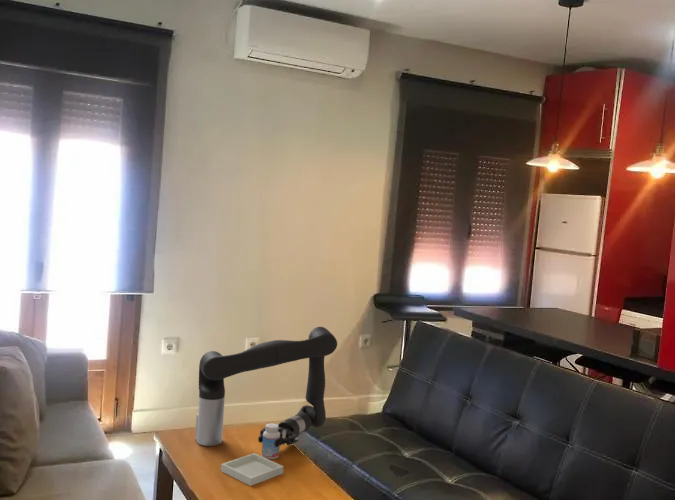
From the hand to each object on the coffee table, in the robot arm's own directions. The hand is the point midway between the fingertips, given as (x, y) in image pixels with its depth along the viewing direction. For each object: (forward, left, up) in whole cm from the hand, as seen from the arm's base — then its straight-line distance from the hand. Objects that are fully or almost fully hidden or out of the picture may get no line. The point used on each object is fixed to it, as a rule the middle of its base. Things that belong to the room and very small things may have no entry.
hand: (267, 441), depth 244 cm
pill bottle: (-1, +2, -6) cm, 7 cm away
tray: (+5, -12, -6) cm, 14 cm away
